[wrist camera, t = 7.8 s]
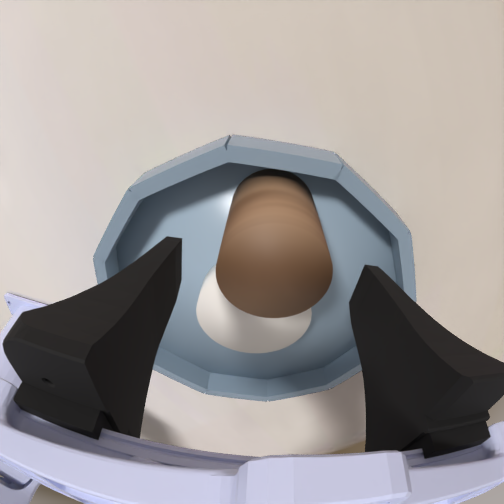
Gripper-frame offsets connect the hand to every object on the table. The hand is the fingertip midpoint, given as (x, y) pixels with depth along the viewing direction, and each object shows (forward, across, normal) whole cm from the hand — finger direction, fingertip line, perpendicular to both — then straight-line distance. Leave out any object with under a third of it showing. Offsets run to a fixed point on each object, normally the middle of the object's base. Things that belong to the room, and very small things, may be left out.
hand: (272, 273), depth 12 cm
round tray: (+6, 0, +6) cm, 9 cm away
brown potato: (+6, 0, 0) cm, 6 cm away
